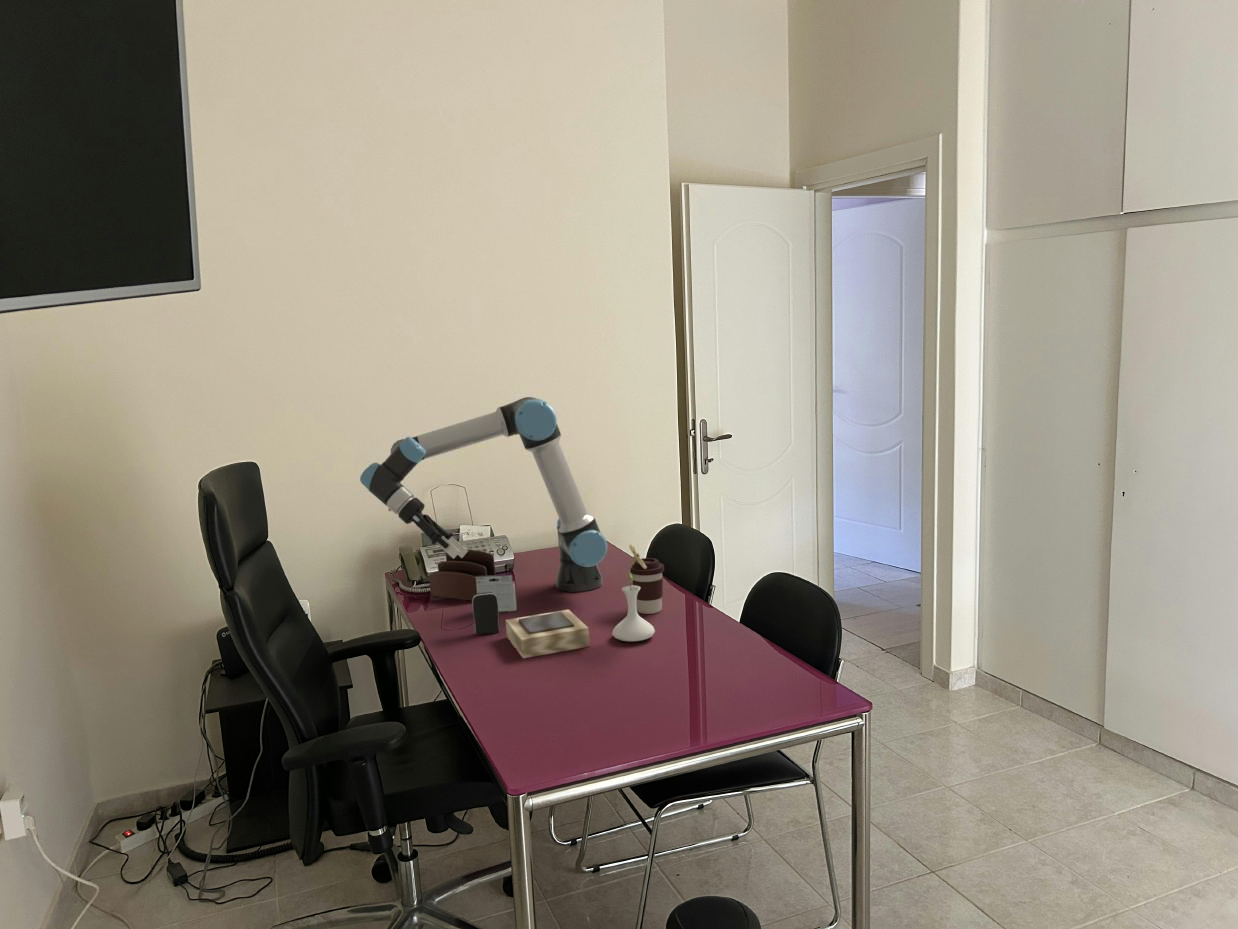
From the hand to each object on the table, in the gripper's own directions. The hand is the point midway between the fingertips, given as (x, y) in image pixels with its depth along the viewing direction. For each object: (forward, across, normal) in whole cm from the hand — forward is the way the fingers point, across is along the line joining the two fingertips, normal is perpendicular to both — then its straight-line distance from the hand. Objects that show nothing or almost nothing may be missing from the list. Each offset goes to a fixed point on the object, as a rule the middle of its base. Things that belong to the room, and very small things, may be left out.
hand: (461, 555), depth 261 cm
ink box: (+18, -14, -7) cm, 24 cm away
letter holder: (+5, -34, -13) cm, 37 cm away
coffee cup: (+52, -6, +23) cm, 57 cm away
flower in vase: (+52, +15, +16) cm, 56 cm away
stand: (+35, +15, 0) cm, 38 cm away
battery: (+21, +4, -11) cm, 24 cm away
